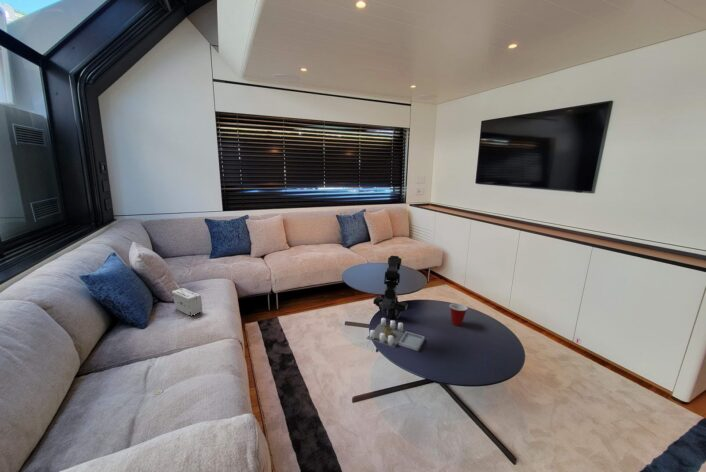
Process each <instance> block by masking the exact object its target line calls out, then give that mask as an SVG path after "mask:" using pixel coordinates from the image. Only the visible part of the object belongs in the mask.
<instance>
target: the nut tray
mask: <svg viewBox="0 0 706 472" xmlns="http://www.w3.org/2000/svg"><path fill="white" fill-rule="evenodd" d="M424 341H425V336H423V335H421V334H417V333H415V332H414V333H413V332H410V331H407V330H406V332H405V333H404V334H403V336H402V337H401V339H400V340H399V342H398V343H397V345H398V346H401V347H404V348H406V349H410V350H413V351H416V352H419V350H420V349H421V347H422V345H423V344H424Z"/></svg>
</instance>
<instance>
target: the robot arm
mask: <svg viewBox="0 0 706 472" xmlns="http://www.w3.org/2000/svg"><path fill="white" fill-rule="evenodd" d="M402 260H403V259H402V258H401V257H399V256H398V255H390V256H389V257H388V258H387V266H388V267H387V268H386V271H385V273H384V279H383V281H384V283H383V284H384V285H385V290H384V297H383V296H378V295H377V296H376V297H375V298H374V299H373V305H375V306H376V307H377V308H378V310H379V312H380V315H381V316H383V315H384V310H386V311H387V312H386V315H385V317H384V318H386V319H387V318H388V319H389V320H398V319H399V317H400V315H401V313H402V312H405V311H406V310H407V309H408V306H409V304H408V302H406V301H399V298H398V295H397V294H398V293H397V286H399V284H400V281H401V275H400V272H399V271H400V269H401V266H402V262H403V261H402Z"/></svg>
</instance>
